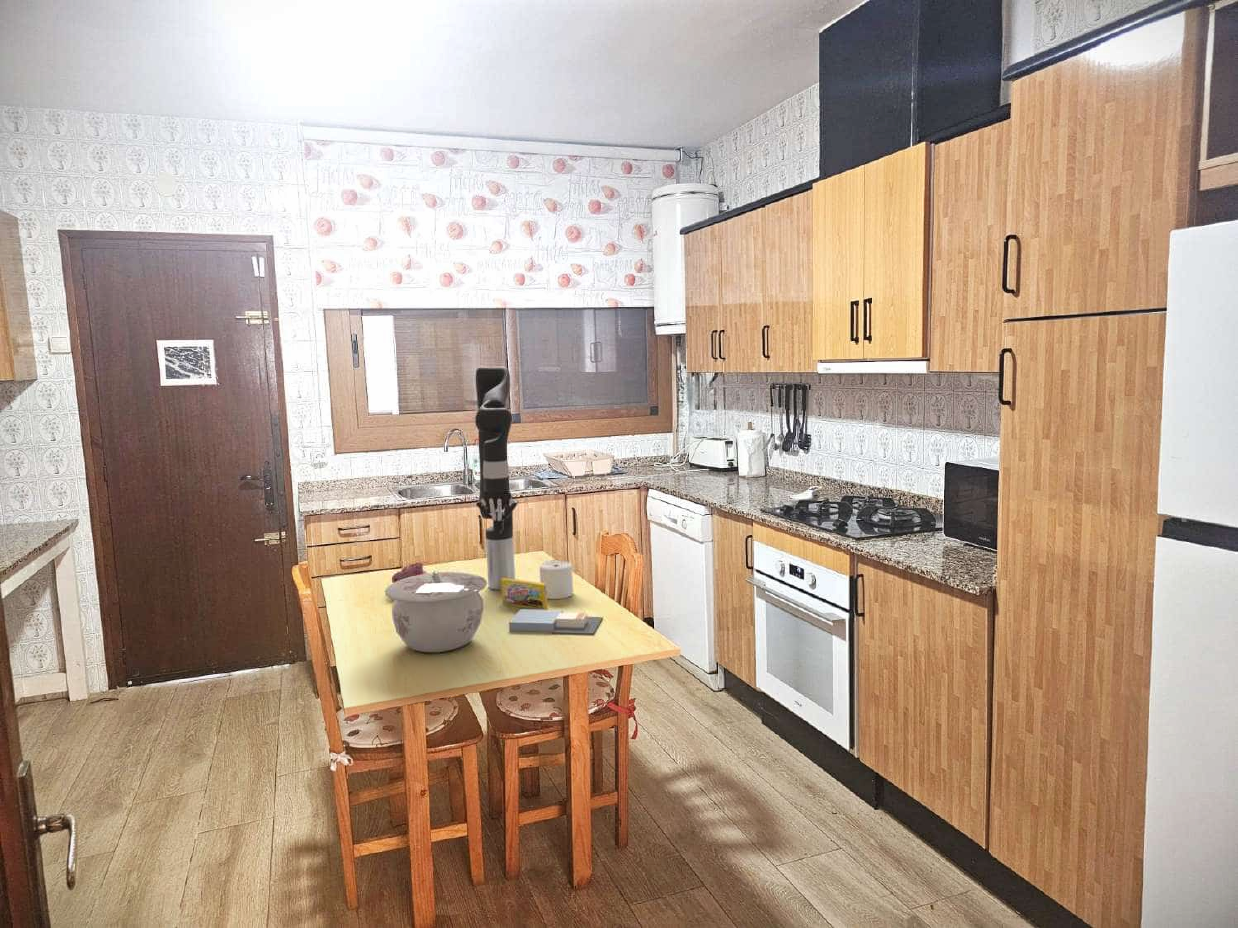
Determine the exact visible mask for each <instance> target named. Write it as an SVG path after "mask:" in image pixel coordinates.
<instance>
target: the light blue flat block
mask: <svg viewBox="0 0 1238 928" xmlns="http://www.w3.org/2000/svg"><path fill="white" fill-rule="evenodd" d="M560 613H564V611H563V609H545V610H543V609H532V608H530V609H528V608H527V609H524V608H523V609H519V610H518V611H517V613H516V614H515V615H514V616H513V617H512V618H511V619H510V621H508V629H509V631H511V632H543V633H544V632H545V633H546V632H547V633H548V632H550V633H552V631H553V630H554V629H555V627H556V618H557V616H558V615H559V614H560Z"/></svg>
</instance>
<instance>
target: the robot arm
mask: <svg viewBox="0 0 1238 928" xmlns="http://www.w3.org/2000/svg"><path fill="white" fill-rule="evenodd" d="M475 388H476V389H475V390H476V398H477V400H476V402H477V412H476V414H475V419H474V420H475V427H476V429H478V457H479V474H480V475H479V497H478V498H479V500H478V501H477V502H476V506H477V508H478V509H479V513H480V516H481V517H482V519H484V520H488V519H489V520H492V526H490V527H487V529H486V530H485V546H486V566H487V567H486V569H487V587H488V588H489V589H490V590H499V591H500V590H502V587H501V579H503V578H508V579H516V572H515V571H516V569H515V550H514V525H513V524H514V523H513V522H514V518H513V515H514V510H515V509H516V508H517V506H518V505H519V501H518V500H514V499H513V495H512V493H511V491H510V490H511V489H510V474H509V473H510V471H509V470H510V469H509V462H508V461H509V460H508V441H509V440H508V438H509V433H510V430H511V427H512V424H513V423H512V422H513V415H512V413H511V411H510V410H509V408H506V406H507V404H506V403H507V398H508V396H509V392H510V389H511V375H510V371H509V369H508V368H507V367H506V366H502V365H501V366H499V365H498V366H478V367H477V368H476V372H475Z"/></svg>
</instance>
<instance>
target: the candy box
mask: <svg viewBox="0 0 1238 928" xmlns="http://www.w3.org/2000/svg"><path fill="white" fill-rule="evenodd" d="M501 587H502V589H501V598H502V604H504V605H509V606H510V605H511V606H516V607H523V608H530V609H535V610H548V599H547V592H546V583H540V582H538V581H530V580H522V579H516V578H515V579H508V578H503V579H501Z"/></svg>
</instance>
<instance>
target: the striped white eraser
mask: <svg viewBox="0 0 1238 928" xmlns="http://www.w3.org/2000/svg"><path fill="white" fill-rule="evenodd" d="M587 617H588V613H586V612H563V613H560V614H559V615H558V616H557V618H556V627H570V628H583V627H584V626H585V624H586V622H587Z"/></svg>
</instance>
